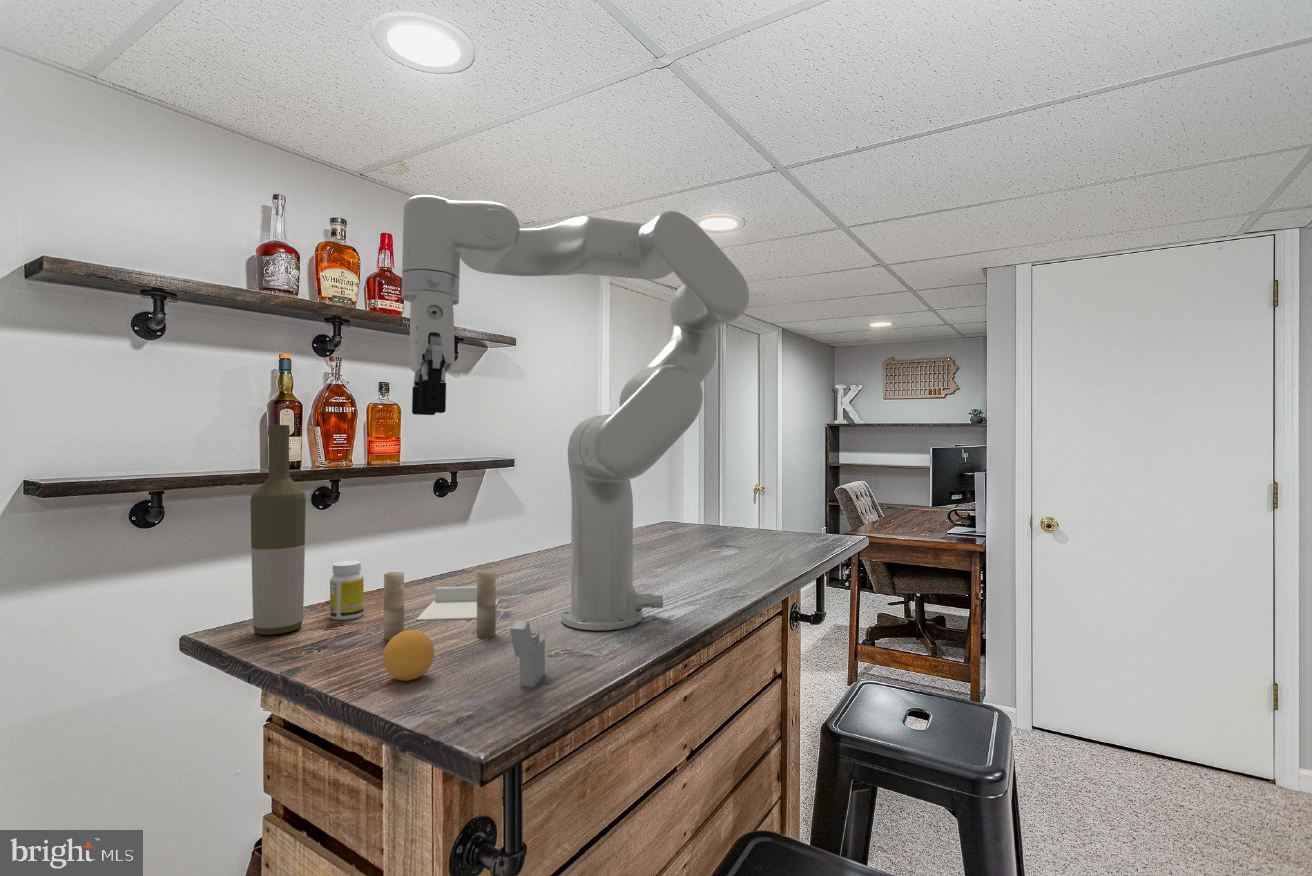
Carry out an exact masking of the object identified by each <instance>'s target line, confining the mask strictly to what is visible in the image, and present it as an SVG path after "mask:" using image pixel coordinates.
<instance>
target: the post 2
mask: <svg viewBox="0 0 1312 876" xmlns="http://www.w3.org/2000/svg"><path fill="white" fill-rule="evenodd" d="M496 573H497V572H496V570H491V569H484V570H483V569H482V570H479V571H477V572H476V586H477V619H476V637H477V638H482V639H485V638H486V639H489V638H492V637H493V638H494V637H495V636H496V634H497V633H496V629H497V628H496V626H497V625H496V623H497V621H496V620H497V619H496V618H497V617H496V615H497V614H496V609H497V607H496V606H497V605H496V599H497V582H496V581H497V578H496V575H497V574H496Z"/></svg>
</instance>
